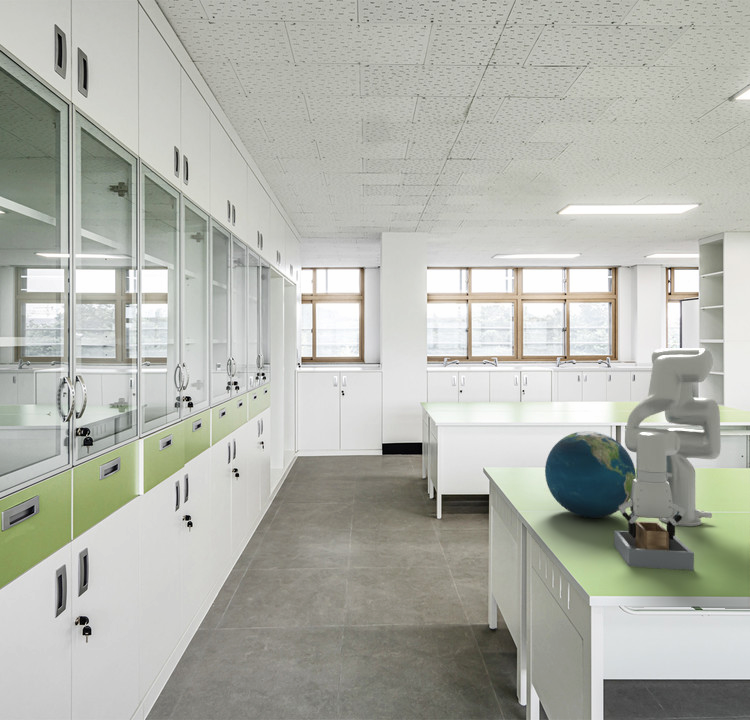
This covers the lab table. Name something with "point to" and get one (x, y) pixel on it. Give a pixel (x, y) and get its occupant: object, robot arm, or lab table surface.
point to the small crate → (651, 536)
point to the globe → (590, 474)
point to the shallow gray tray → (654, 553)
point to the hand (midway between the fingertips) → (651, 537)
